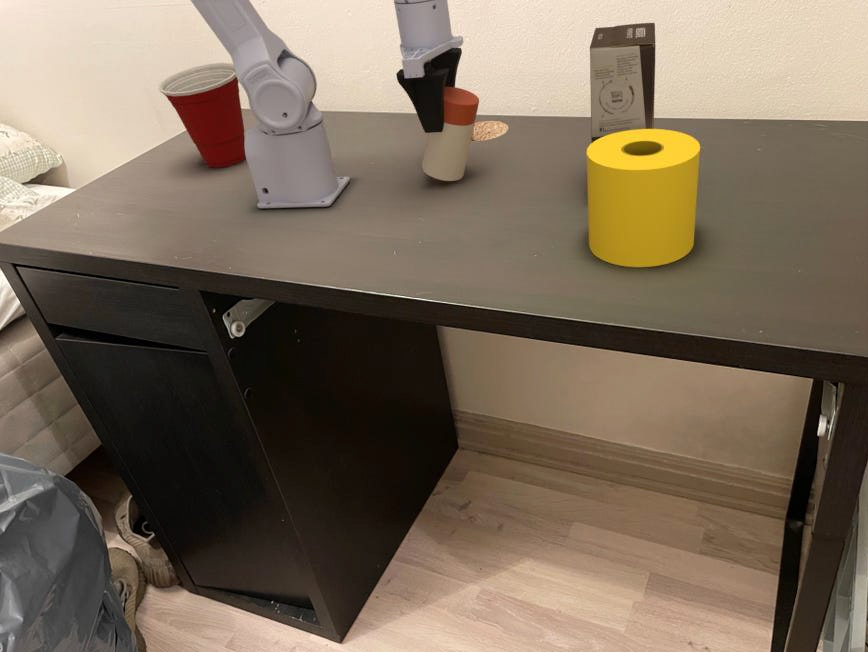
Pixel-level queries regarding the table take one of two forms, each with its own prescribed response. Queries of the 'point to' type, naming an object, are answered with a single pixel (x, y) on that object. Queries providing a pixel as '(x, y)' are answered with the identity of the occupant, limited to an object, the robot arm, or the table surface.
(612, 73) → the coffee box
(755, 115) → the table surface
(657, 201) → the yellow paper roll
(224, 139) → the plastic cup
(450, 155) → the container
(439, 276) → the table surface
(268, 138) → the robot arm
